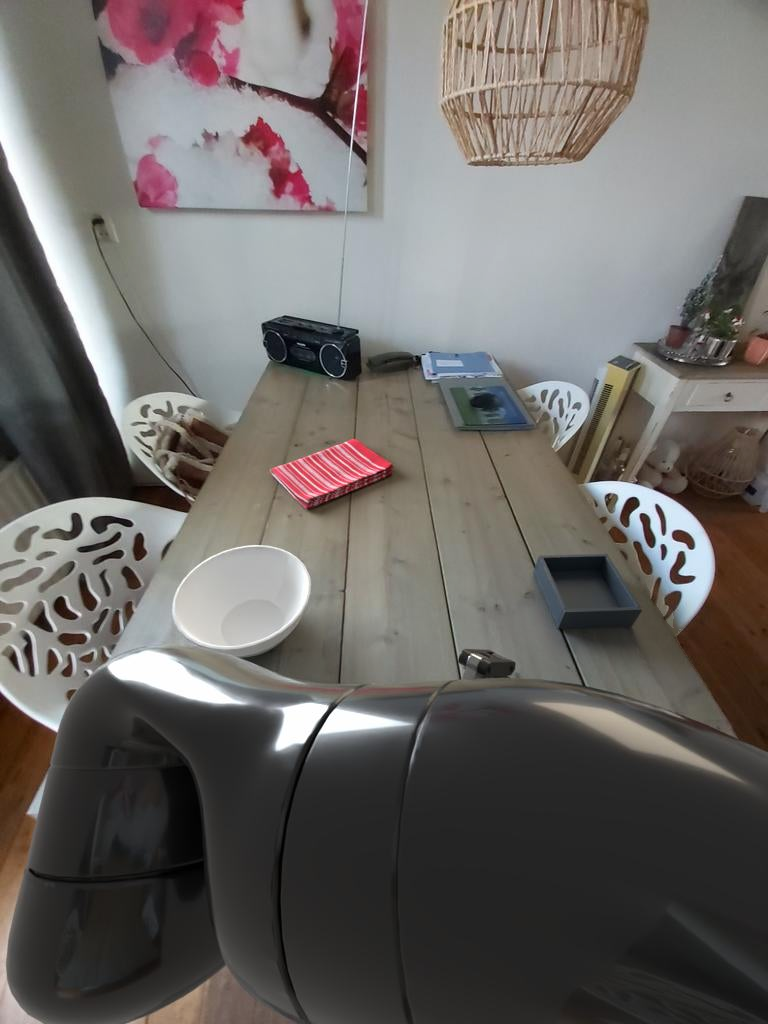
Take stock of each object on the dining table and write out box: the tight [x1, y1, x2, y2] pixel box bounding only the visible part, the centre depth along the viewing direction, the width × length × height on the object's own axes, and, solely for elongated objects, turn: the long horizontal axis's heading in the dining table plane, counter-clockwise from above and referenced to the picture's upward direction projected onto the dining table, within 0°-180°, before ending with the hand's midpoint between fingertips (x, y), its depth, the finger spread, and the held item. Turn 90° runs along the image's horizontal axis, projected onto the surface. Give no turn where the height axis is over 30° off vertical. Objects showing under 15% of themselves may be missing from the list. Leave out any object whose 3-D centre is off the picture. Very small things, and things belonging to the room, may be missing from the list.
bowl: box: [171, 544, 312, 659], centre depth 66 cm, size 20×19×8 cm
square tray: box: [532, 553, 643, 630], centre depth 73 cm, size 12×12×4 cm
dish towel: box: [269, 438, 394, 511], centre depth 101 cm, size 17×24×3 cm
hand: (494, 732), depth 41 cm, fingers open, 8 cm apart
